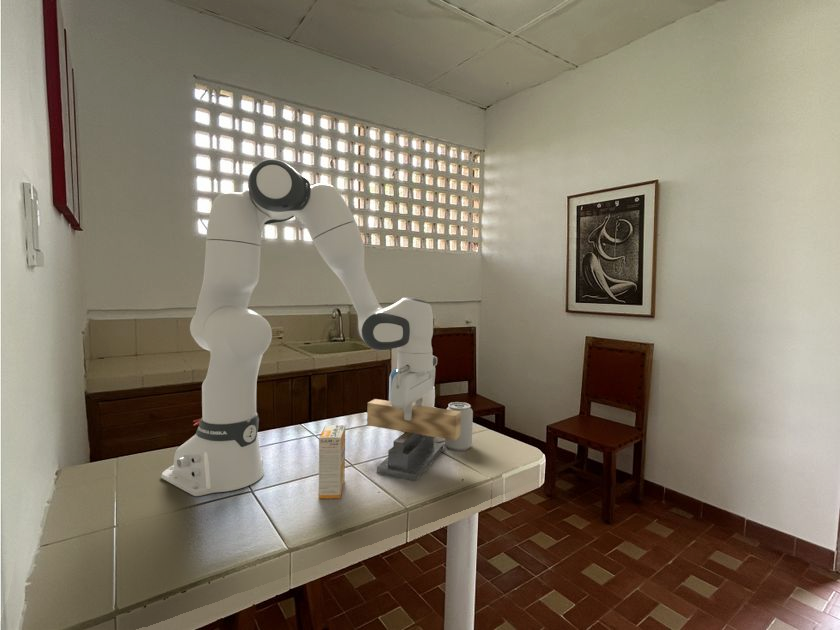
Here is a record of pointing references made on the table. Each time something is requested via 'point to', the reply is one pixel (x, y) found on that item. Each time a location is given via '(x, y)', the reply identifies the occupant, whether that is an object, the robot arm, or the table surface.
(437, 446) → the ridge
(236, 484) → the robot arm
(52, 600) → the table surface
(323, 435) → the supplement box
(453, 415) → the wooden block
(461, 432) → the can
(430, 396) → the cream cylinder
